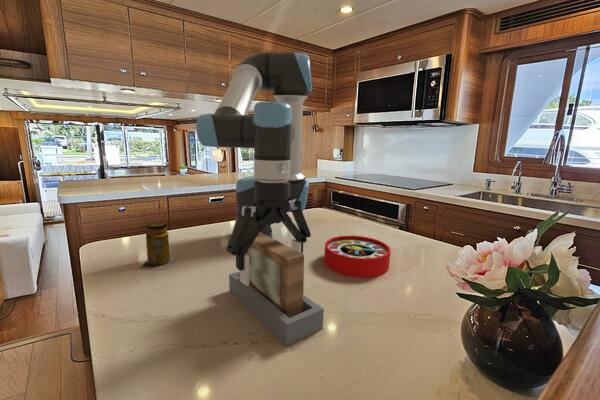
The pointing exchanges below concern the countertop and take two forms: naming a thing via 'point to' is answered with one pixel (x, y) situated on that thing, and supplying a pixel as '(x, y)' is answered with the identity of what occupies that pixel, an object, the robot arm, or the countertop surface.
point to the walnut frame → (277, 274)
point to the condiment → (157, 246)
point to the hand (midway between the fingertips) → (271, 274)
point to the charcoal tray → (278, 313)
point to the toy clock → (357, 256)
